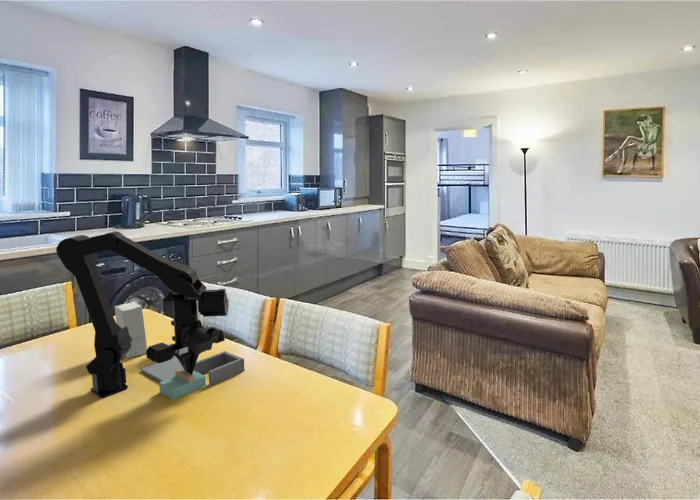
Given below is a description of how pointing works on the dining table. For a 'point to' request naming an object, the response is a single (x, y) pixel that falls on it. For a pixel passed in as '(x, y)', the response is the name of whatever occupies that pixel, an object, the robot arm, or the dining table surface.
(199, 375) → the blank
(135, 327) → the skincare box
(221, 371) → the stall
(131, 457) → the dining table surface
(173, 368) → the mat
